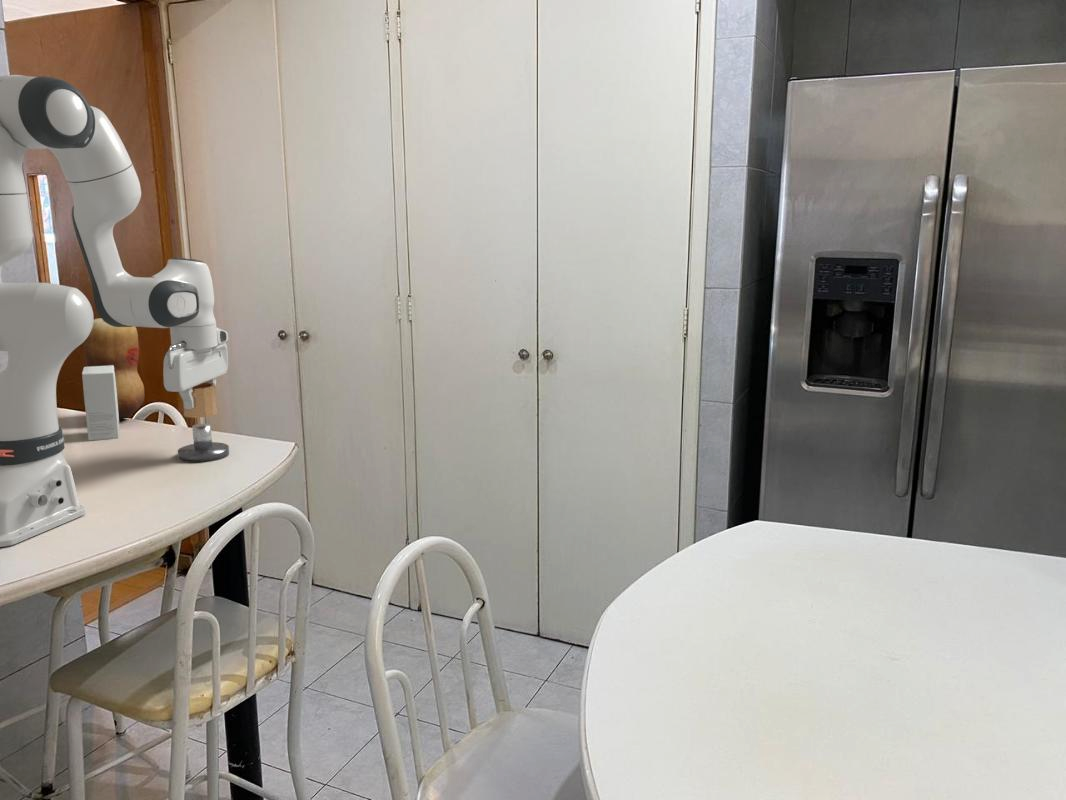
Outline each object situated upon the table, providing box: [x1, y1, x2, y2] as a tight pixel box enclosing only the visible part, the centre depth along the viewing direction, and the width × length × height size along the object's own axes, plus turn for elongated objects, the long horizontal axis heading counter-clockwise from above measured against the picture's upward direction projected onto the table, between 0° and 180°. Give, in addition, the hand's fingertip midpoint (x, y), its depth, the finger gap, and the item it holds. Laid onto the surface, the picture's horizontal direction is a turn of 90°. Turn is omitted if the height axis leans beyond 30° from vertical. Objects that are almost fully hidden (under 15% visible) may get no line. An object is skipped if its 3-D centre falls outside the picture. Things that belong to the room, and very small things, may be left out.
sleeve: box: [182, 383, 218, 419], centre depth 171 cm, size 6×6×6 cm
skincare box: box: [81, 365, 120, 442], centre depth 186 cm, size 8×7×16 cm
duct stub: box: [177, 423, 230, 463], centre depth 172 cm, size 10×10×6 cm
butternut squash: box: [82, 317, 145, 421], centre depth 199 cm, size 14×13×25 cm
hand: (199, 403), depth 171 cm, fingers closed on sleeve, 6 cm apart
